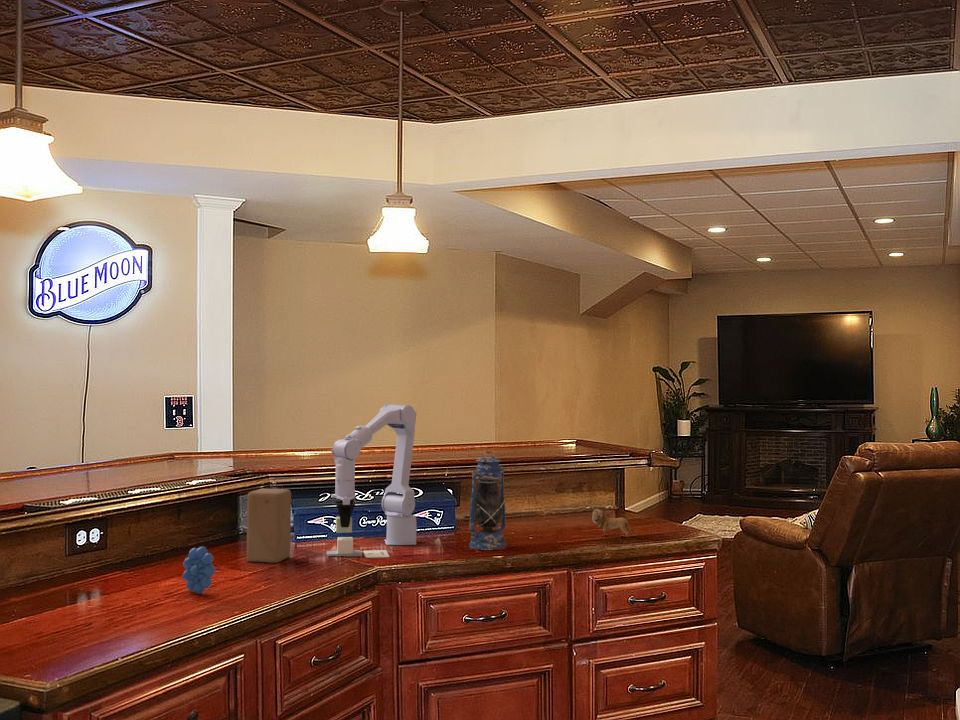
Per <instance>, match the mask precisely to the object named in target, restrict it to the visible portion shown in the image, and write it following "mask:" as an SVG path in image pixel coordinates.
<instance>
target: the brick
mask: <svg viewBox="0 0 960 720" xmlns="http://www.w3.org/2000/svg"><path fill="white" fill-rule="evenodd" d="M336 539H337V540H336V543H337V545H336V547H337V548H336V551H337V552H338V554H349V553H353V550H354V538H353V536H346V537H345V536H338V537H337V538H336Z"/></svg>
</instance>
